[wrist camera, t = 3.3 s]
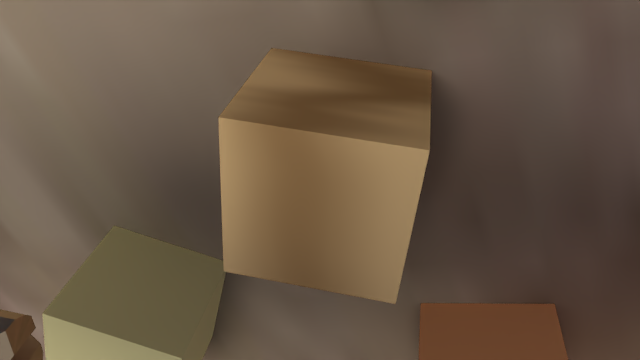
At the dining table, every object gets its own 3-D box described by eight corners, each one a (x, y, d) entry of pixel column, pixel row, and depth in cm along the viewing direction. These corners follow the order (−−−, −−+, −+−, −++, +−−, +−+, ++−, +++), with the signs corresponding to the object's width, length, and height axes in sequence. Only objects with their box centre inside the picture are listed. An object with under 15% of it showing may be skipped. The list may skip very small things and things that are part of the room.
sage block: (228, 260, 22) (182, 358, 18) (213, 335, 25) (169, 434, 21) (114, 224, 22) (42, 313, 18) (112, 302, 25) (48, 395, 21)
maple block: (431, 69, 16) (429, 150, 12) (404, 201, 19) (395, 303, 15) (272, 46, 17) (218, 117, 13) (268, 178, 20) (223, 271, 15)
